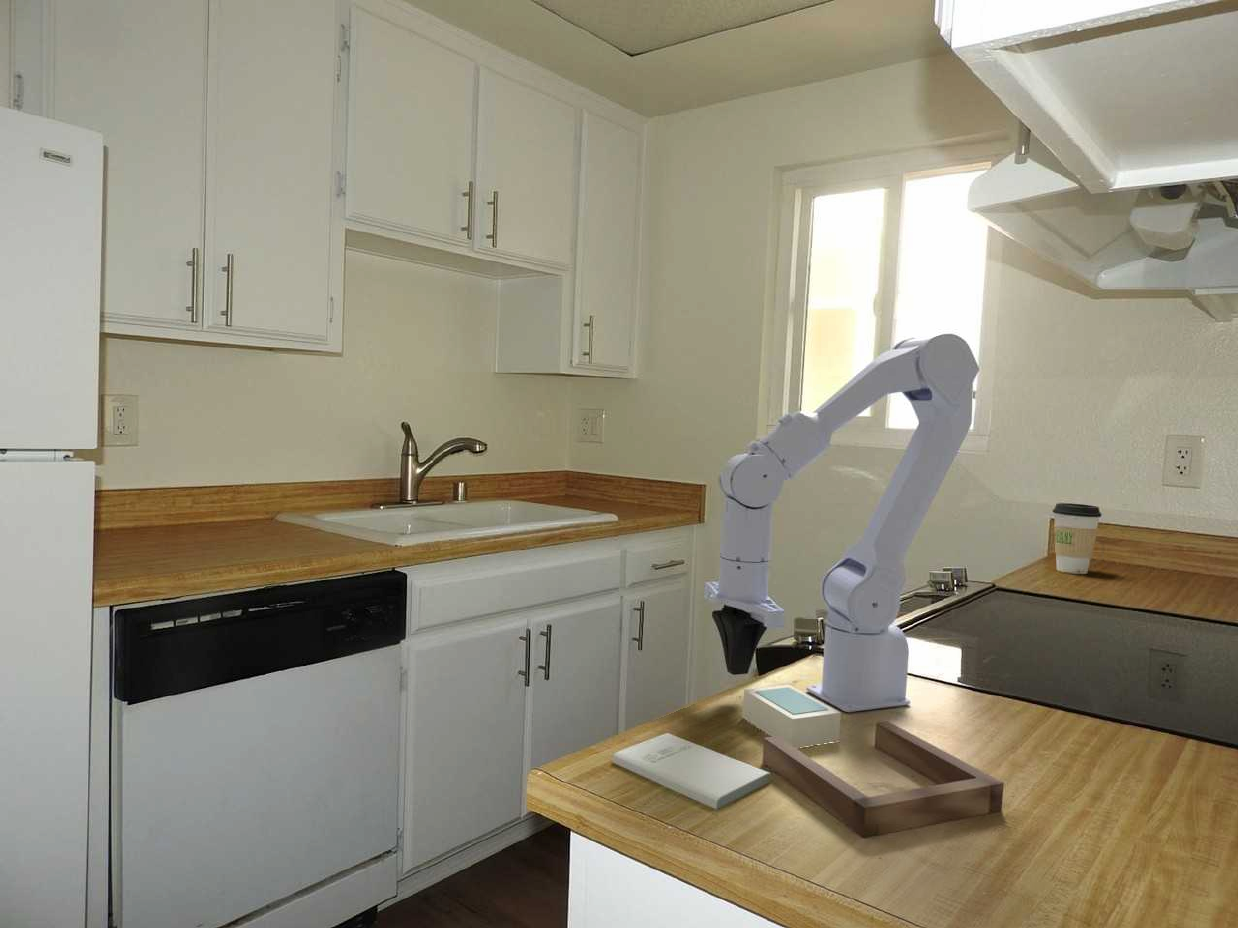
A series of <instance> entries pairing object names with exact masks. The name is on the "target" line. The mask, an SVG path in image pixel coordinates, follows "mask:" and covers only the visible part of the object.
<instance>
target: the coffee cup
mask: <svg viewBox="0 0 1238 928" xmlns="http://www.w3.org/2000/svg"><path fill="white" fill-rule="evenodd" d="M1052 513H1053V515H1054V524H1053V530H1054V545H1055V546H1054V550H1055V560H1056V561H1055V562H1056V570H1057V571H1059V572H1063V573H1065V574H1066V573H1068V574H1075V575H1086V574H1088V572H1089V567H1090V563H1091V558H1092V556H1093V552H1094V548H1095V542H1096V538H1097V533H1098V525H1099V520H1100V518H1101V517H1102V513H1101V512H1100V507H1099V506H1096V505H1090V504H1084V503H1083V504H1081V503H1069V502H1068V503H1067V502H1064V503H1063V502H1062V503H1061V502H1058V503H1056V504H1055V507H1054V508H1053V509H1052Z"/></svg>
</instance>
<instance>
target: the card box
mask: <svg viewBox="0 0 1238 928" xmlns="http://www.w3.org/2000/svg"><path fill="white" fill-rule="evenodd" d="M742 708H743V709H742V719H743V718H744V719H745V721H746V720H747V721H746V722H748V723H749V722H750V723H749V724H751V725H752V724H753V725H752V726H754V725H755V726H756V728H757V729H758V728H759V729H758V730H760V729H761V730H762V731H761V730H760V731H761V732H763V731H764V732H765V733H764V732H763V733H764V734H766V735H767V734H768V736H769V735H770V736H771V737H774V736H778V737H779V738H781V739H782V740H784V741H785V742H787V743H788V744H790V745H791V746H793V747H794V748H800V747H804V746H805V747H806V746H811V745H817V744H824V743H829V742H837V741H839V742H840V728H841V714H842V713H841V711H839V710H837V709H835V708H834V707H831V706H830V705H827V704H826V703H825V702H822V701H821V700H818V699H816V697H813V696H812V695H809V694H808V693H806V692H804V691H803V690H800V689H798V688H796V687H795V686H793V685H791V684H784V685H775V686H767V687H758V688H750V689H744V690H743V707H742ZM744 719H743V720H744ZM755 726H754V727H755ZM770 736H769V737H770ZM806 748H807V747H806ZM800 749H801V748H800Z"/></svg>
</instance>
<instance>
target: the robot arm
mask: <svg viewBox="0 0 1238 928" xmlns="http://www.w3.org/2000/svg"><path fill="white" fill-rule="evenodd" d="M979 370H980V368H979V365H978V363H977V360H976V358H975V356H974V354H973V351H972V349H971V347H970V345H969V343H968V342H967V341H966V340H965V339H964V338H963V337H961V336H959V335H958V334H954V333H949V332H945V333H940V334H936V335H933V336H928V337H927V336H926V337H920V338H918V337H917V338H916V337H910V338H904V339H903V340H900V341H899V342H897V343H896V344H895V345H894V346H893V347H892V349H888V350H886V351H884V352H883V353H881V354H879V355H878V356H876V358H875V359H873V360H872V361H871V362H870V363H869V364H868V365H866V366H865V367H864V368H863V369H862V370H860V372H859V373H857V374H856V375H854V376H853V377H852V378H851V379H850V380H849V381H848V382H847V383H845V384H844V385H843V386H842V387H841V388H840V389H839V390H838V391H836V392H835V393H834V394H833V395H832V396H830V397H829V398H828V399H827V400H826V401H824V402H823V403H822V404H821V405H820V406H819V407H818V408H816V409H815V410H814V411H813V412H808V411H801V410H798V411H795V412H794V413H793V414H790V413H785V414H783V415H781V416H780V417H779V418H778V420H777V421H778V422H779V425H778V426H776V427H775V428H774V429H773V430H771V431H770V432H769V433H767V434H766V435H765V436H763V437H762V438H761V439H759V441H757V442H756V441H754V440H753V441H751V442H750V443H748V444H747V445H746V448H747V449H748V453H743V454H737V455H734V456H732V457H731V458H730V459H729V460H728V461H726V462H725V464H724V465H723V470H721V474H720V475H718V476H717V477H718V478H717V479H718V485H719V489H720V490H721V492H722V494H724V498H723V499H724V500H723V516H722V518H721V534H720V549H719V551H720V553H719V565H718V566H719V569H718V581H708V582H704V598H705V599H707V600H709V602H711V603H713V604H715V605H723V607H722V608H721V609H720V610H719V609H717V610H716V609H715V610H713V611H712V612H711V617H712V619H713V621H714V623H715V625H716V628H717V630H718V633H719V636H720V640H721V645H722V649H723V655H724V661H725V667H726V670H727V673H729V674H731V675H733V676H736V675H748V673H749V672H750V668H751V664H752V661H753V659H754V656H755V653H756V650H757V648H758V646H759V643H760V641H761V639H762V637H763V635H764V634H765V633H766V631H767V629H772V628H773V629H774V628H775V629H776V628H783V627H785V626H784V625H785V611H786V610H785V609H783V608H781V607H780V606H778V605H777V604H776V603H775V602H774V601H773V600H772V599H771V598H770V597H769V596H768V594H769V592H768V591H769V589H768V588H769V576H770V574H769V573H770V560H771V559H770V558H771V545H772V542H771V541H772V529H773V528H772V527H773V525H772V524H773V520H772V519H773V518H772V516H773V515H772V514H773V502H775V501H777V499H778V498H779V497H780V495H781V493H782V490H783V484H784V483H785V484H786V483H788V482H789V481H791V480H792V479H793V478H794V477H796V476H797V475H798V474H800V473H801V472H802V471H804V469H806V468H807V467H808V466H810V465H811V464H812V463H813V462H815V461H816V460H818V459H819V458H820V457H821V456H823V454H825V453H827V451H829V449H830V445H831V439H832V434H833V433H835V432H836V431H837V430H839V429H840V428H841V427H843V426H844V425H846V424H847V423H848V422H850V421H852V420H853V419H854V418H855V417H857V416H859V415H860V414H862V413H863V412H864V411H866V409H868V408H869V407H871V406H873V405H874V404H875V403H878V401H880V400H881V399H882V398H884V397H885V396H886V395H889V394H896V393H902V395H904V397H905V398H906V399H907V400H908V401H909V403H910V404H911V406H912V409H913V411H914V414H915V415H916V418H917V420H918V425H917V427H915V430H914V433H913V434H912V436H911V438H910V441H909V442H908V444H907V447H906V448H905V450H904V452H903V454H902V455H901V456H902V457H901V458H900V460H899V462H898V464H897V466H896V468H895V470H894V472H893V474H892V475H891V478H890V480H889V482H888V484H887V486H886V487H885V489H884V492H883V493H882V496H881V498H880V500H879V502H878V503H877V506H876V507H875V508H874V509H875V510H874V512H873V513H872V515H871V517H870V519H869V521H868V523H867V526H866V528H865V529H864V531H863V533H862V535H861V537H860V539H858V541H856V542H855V543H853V544H852V545H850V546H849V547H848V548H846V549H845V550H844V552H843V554H842V555H841V558H840V560H838V562H837V563H836V564H835V565H833V566H832V567H831V568H829V569H828V570H827V571H826V572H825V574H824V576H823V577H822V579H821V583H820V594H821V598H822V600H823V602H824V604H825V605H826V607H828V613H827V614H826V615H827V616H826V618H825V631H824V634H825V635H824V645H823V646H824V648H823V662H822V663H823V664H822V665H823V666H822V679H821V680H822V682H821V684H815V685H808V686H806V689H805V690H806V691H807V692H809V693H810V694H813V695H814V696H816V697H818V698H819V699H821V700H823V701H825V702H827V703H829V704H830V705H832V706H834V707H836V708H838V709H840V710H841V711H843V712H845V713H852V712H853V713H854V712H859V711H868V710H877V709H883V708H891V707H899V706H900V707H901V706H907V705H910V704H911V700H910V699H909V698H907V684H908V683H907V682H908V671H909V670H908V669H909V655H910V652H909V651H910V650H909V644H908V640H907V638H906V634H905V633H904V632H903V630H902V629H901V628H900V627H898V626H897V625H896V624H893V623H894V621H895V620H896V619H897V616H899V612H900V609H901V595H902V591H903V588H904V585H905V584H906V582H907V576H906V571H905V570H906V569H905V565H904V564H905V563H904V559H905V556H906V555H907V553H908V550H909V549H910V547H911V545H912V543H913V542H914V540H915V537H916V536H917V533H918V531H919V529H920V527H921V525H922V523H923V522H924V519H925V517H926V515H927V514H928V512H929V509H930V507H931V505H932V503H933V502H934V500H935V498H936V496H937V494H938V492H939V490H940V487H941V486H942V484H943V482H944V480H945V478H946V476H947V474H948V473H949V470H950V468H951V466H952V464H953V462H954V461H955V458H956V456H957V454H958V452H959V451H960V449H961V447H962V444H963V442H964V441H965V438H966V437H967V434H968V433H969V431H970V428H971V425H972V421H973V390H974V389H973V388H974V382H975V379H976V377H977V375H978V373H979Z"/></svg>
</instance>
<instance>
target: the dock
mask: <svg viewBox="0 0 1238 928" xmlns="http://www.w3.org/2000/svg"><path fill="white" fill-rule="evenodd" d="M874 733H875V734H874V747H875V749H878V750H880V751H881V752H883V753H885V754H887V755H888V756H891V757H892V758H894V759H896V760H897V761H898V762H900V763H902V764H904V765H906V766H907V767H909V768H911V770H912V769H913V770H914V771H917V772H918V773H919V774H921V775H923V776H924V777H926V778H928V779H929V780H932V782H935V783H937V784H936V785H931V786H924V787H919V788H912V789H908V790H901V791H895V792H891V793H890V792H889V793H885V794H879V795H873V796H867V795H866V794H864V793H863V792H861V791H860V790H858V789H856V788H855V787H854V786H852V785H851V784H850V783H848V782H846V781H845V780H843V779H842V778H841V777H839V776H837V775H836V774H835V773H833V772H831V771H830V770H829V769H827V768H826V767H824V766H823V765H821V764H819V763H818V762H817V761H815V760H813V759H812V758H811V757H809V756H808V755H806V754H804V753H803V752H802V751H800V750H799V749H796V748H794V747H793V746H791V745H790V744H788V743H787V742H785V741H784V740H782V739H781V738H779V737H778V736H774V737H770V736H767V737H766V736H765V737H763V747H762V764H763V763H764V764H763V765H764V766H766V765H767V766H768V768H769V767H770V768H771V769H773V770H774V771H775V772H777V773H778V774H779V775H780V777H781V776H782V777H783V778H784V779H783V778H782V777H781V778H782V779H783V780H785V781H786V780H787V781H786V782H788V783H789V784H790V783H791V784H790V785H791V786H793V787H794V788H795V789H797V790H798V791H799V792H801V793H802V794H804V795H805V796H807V798H809V799H810V798H811V799H810V800H812V801H813V802H814V803H816V804H817V805H818V806H819V807H821V808H822V809H824V810H825V811H826V812H828V813H829V814H831V815H832V816H834V817H835V818H836V819H838V821H840V822H841V823H843V824H844V825H845V826H847V827H848V828H849V829H850V830H852V832H855V833H856V834H857V835H859V836H860V837H862V838H863V839H866V838H871V837H876V836H879V835H885V834H890V833H895V832H901V831H905V830H910V829H915V828H920V827H925V826H930V825H934V824H940V823H941V824H942V823H946V822H951V821H956V820H961V819H966V818H971V817H976V816H981V815H985V814H991V813H997V812H1001V811H1003V810H1002V808H1003V797H1004V785H1005V784H1004V783H1005V782H1003V781H1001V780H999V779H997V778H995V777H994V776H991V775H990V774H988V773H986V772H984V771H982V770H980V769H979V768H977V767H975V766H973V765H971V764H970V763H967V762H966V761H964V760H961V759H960V758H957V757H956V756H954V755H952V754H950V753H949V752H947V751H945V750H943V749H941V748H940V747H937V746H935V745H934V744H931V743H930V742H927V740H924V739H923V738H920V737H918V736H916V735H915V734H913V733H910V732H909V731H907V730H905V729H904V728H901V727H900V726H898V725H896V724H894V723H892V722H890V721H880V722H875V732H874ZM767 766H766V767H767ZM770 768H769V769H770ZM771 769H770V770H771ZM773 770H772V771H773ZM774 771H773V772H774ZM775 772H774V773H775ZM777 773H776V774H777ZM778 774H777V775H778ZM779 775H778V776H779Z"/></svg>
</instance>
